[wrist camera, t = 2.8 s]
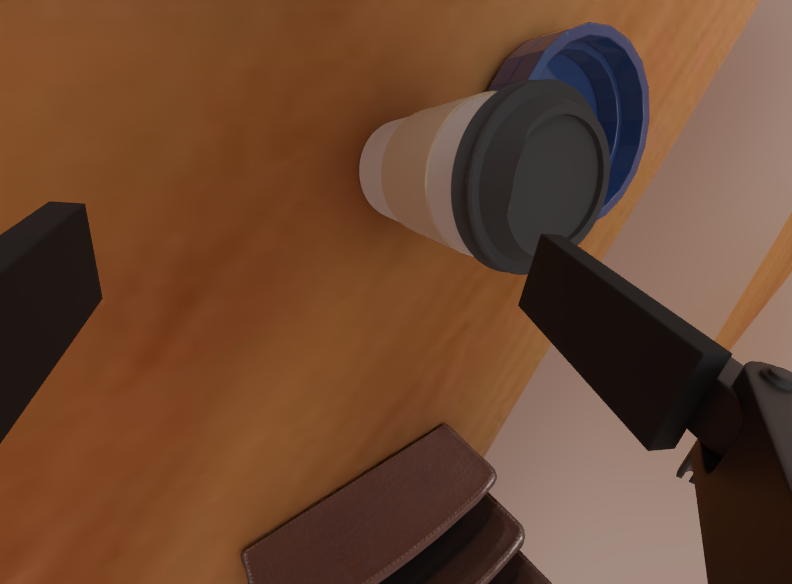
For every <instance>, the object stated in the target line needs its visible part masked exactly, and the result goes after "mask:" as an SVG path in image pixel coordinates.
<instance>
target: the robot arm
mask: <svg viewBox="0 0 792 584" xmlns="http://www.w3.org/2000/svg"><path fill="white" fill-rule="evenodd" d="M102 299H103V298H102V293H101V287H100V282H99V277H98V271H97V266H96V261H95V255H94V250H93V245H92V239H91V234H90V228H89V223H88V218H87V212H86V207H85V204H80V203H65V202H48V203H47V204H45V205H44V206H42V207H41V208H39V209H38V210H36V211H35V212H33V213H32V214H31V215H29V216H28V217H26V218H25V219H23V220H22V221H20V222H19V223H17V224H16V225H14V226H13V227H11V228H10V229H9V230H7V231H6V232H4V233H3V234H1V235H0V443H1V442H2V441H3V439H4V438H5V436H6V435H7V433H8V432H9V431H10V429H11V428H12V426H13V425H14V423H15V422H16V421H17V419H18V418H19V416H20V415H21V414H22V412H23V411H24V409H25V408H26V406H27V405H28V404H29V402H30V401H31V399H32V398H33V397H34V395H35V394H36V392H37V391H38V389H39V388H40V387H41V385H42V384H43V382H44V381H45V379H46V378H47V377H48V375H49V374H50V372H51V371H52V370H53V368H54V367H55V365H56V364H57V362H58V361H59V360H60V358H61V357H62V355H63V354H64V352H65V351H66V350H67V348H68V347H69V345H70V344H71V343H72V341H73V340H74V338H75V337H76V335H77V334H78V333H79V331H80V330H81V328H82V327H83V325H84V324H85V323H86V321H87V320H88V318H89V317H90V316H91V314H92V313H93V311H94V310H95V308H96V307H97V306H98V304H99V303H100V301H101V300H102ZM518 306H519V307H520V308H521V309H522V310H523V311H524V312H525V313H526V315H527V316H528V317H529V318H530V319H531V320H532V321H533V322H534V324H535V325H536V326H537V327H538V328H539V329H540V330H541V331H542V333H543V334H544V335H545V336H546V337H547V338H548V339H549V340H550V341H551V343H552V344H553V345H554V346H555V347H556V348H557V349H558V350H559V352H560V353H561V354H562V355H563V356H564V357H565V358H566V359H567V361H568V362H569V363H570V364H571V365H572V366H573V367H574V368H575V369H576V371H577V372H578V373H579V374H580V375H581V376H582V377H583V378H584V380H585V381H586V382H587V383H588V384H589V385H590V386H591V387H592V389H593V390H594V391H595V392H596V393H597V394H598V395H599V396H600V398H601V399H602V400H603V401H604V402H605V403H606V404H607V405H608V407H609V408H610V409H611V410H612V411H613V412H614V413H615V414H616V415H617V417H618V418H619V419H620V420H621V421H622V422H623V423H624V424H625V426H626V427H627V428H628V429H629V430H630V431H631V432H632V433H633V434H634V436H635V437H636V438H637V439H638V440H639V441H640V442H641V443H642V445H643V446H644V447H645V448H646V449H647V450H648V451H652V450H663V449H674V448H675V447H676V445H677V444H678V442H679V440H680V439H681V437H682V436H683V434H684V432H685V430H686V429H688V430H689V431H690V432H691V433H692V434H694V435H695V436H696V437H697V438H698V439H697V441H696V442H695V444H694V445H693V447H692V449H691V450H690V452H689V453H688V455H687V456H686V458H685V460H684V461H683V463H682V464H681V466H680V467H679V469H678V471H677V475H676V476H677V477H679V478H682V476H683V475H684V474H685V472H687V471H693V476H692V477H691V479H690V480H689V482H691V483H693V484H695V489H696V497H697V504H698V512H699V519H700V527H701V534H702V542H703V549H704V557H705V564H706V571H707V579H708V584H792V372H790V371H788V370H786V369H783V368H780V367H776V366H774V365H770V364H767V363H763V362H752V361H751V362H748V363H746V364H745V365H744V366H743V365H742V364H740V363H739V362H737V361H736V360H734V359H733V358H732V357H731V355H732V353H731V352H729V351H728V350H726V349H725V348H723V347H722V346H721V345H719V344H718V343H716V342H715V341H713V340H712V339H710V338H709V337H707V336H706V335H705V334H703V333H702V332H700V331H699V330H697V329H696V328H695V327H693V326H692V325H690V324H689V323H687V322H686V321H685V320H683V319H682V318H680V317H679V316H677V315H676V314H674V313H673V312H672V311H670V310H669V309H667V308H666V307H664V306H663V305H661V304H660V303H659V302H657V301H656V300H654V299H653V298H651V297H650V296H648V295H647V294H646V293H644V292H643V291H641V290H640V289H638V288H637V287H636V286H634V285H633V284H631V283H630V282H628V281H627V280H625V279H624V278H623V277H621V276H620V275H618V274H617V273H615V272H614V271H612V270H611V269H610V268H608V267H607V266H605V265H604V264H602V263H601V262H600V261H598V260H597V259H595V258H594V257H592V256H591V255H589V254H588V253H587V252H585V251H584V250H582V249H581V248H579V247H578V246H577V245H575V244H574V243H572V242H571V241H569V240H568V239H566V238H565V237H564V236H562V235H557V234H541V235H540V238H539V241H538V245H537V248H536V251H535V254H534V257H533V260H532V264H531V267H530V270H529V273H528V276H527V279H526V283H525V286H524V289H523V292H522V295H521V298H520V302H519V305H518Z"/></svg>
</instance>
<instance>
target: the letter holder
mask: <svg viewBox="0 0 792 584" xmlns="http://www.w3.org/2000/svg"><path fill="white" fill-rule="evenodd" d="M496 479H497V475H496V472H495V470H494V468H493V467H492V466H491V465H490V464H489V463H488V462H487V461H486V460H485V459H484V458H482V457H481V456H480V455H479V454H478V453H477V452H476V451H475V450H474V449H473V448H471V447H470V445H468V443H466V442H465V441H464V440H463V438H461V437H460V436H459V435H458V434H457V433H456V432H455V431H454V430H453V429H451V428H450V427H449V426H448V425H447V424H443V425H442V426H441V427H439V428H437V429H436V430H434V431H432V432H431V433H430V434H428V435H426V436H425V437H423V438H422V439H420V440H418V441H417V442H415V443H414V444H412V445H410V446H409V447H407V448H406V449H404V450H402V451H401V452H399V453H397V454H396V455H395V456H393V457H391V458H390V459H388V460H387V461H385V462H383V463H382V464H380V465H378V466H377V467H375V468H374V469H372V470H370V471H369V472H367V473H366V474H364V475H362V476H361V477H359V478H358V479H356V480H355V481H353V482H352V483H350V484H348V485H347V486H345V487H344V488H342V489H340V490H339V491H337V492H335V493H334V494H333V495H331V496H329V497H328V498H326V499H324V500H323V501H322V502H320V503H318V504H317V505H315V506H313V507H312V508H310V509H308V510H307V511H306V512H304V513H303V514H301V515H299V516H298V517H296V518H294V519H293V520H291V521H290V522H288V523H287V524H285V525H284V526H282V527H280V528H279V529H277V530H276V531H274V532H273V533H271V534H269V535H268V536H266V537H265V538H263V539H261V540H260V541H258V542H257V543H255V544H254V545H252V546H251V547H249V548H247V549H246V550H244V551H243V552H242V553H241V559H242V563H243V565H244V567H245V571H246V575H247V579H248V584H552V583H551V582H550V581H549V580H548V579H547V578H546V577H545V576H544V575H543V574H542V573H541V572H540V571H539V570H538V569H537V568H536V567H535V566H534V565H533V564H532V563H531V562H530V561H529V560H528V559H527V557H526V556H525V555H523V553H522V552H521V551H520V550H519V549H520V548H521V547H522V545H523V542H524V539H525V535H524V529H523V526H522V525H521V524H520V523H519V522H518V521H517V520H516V519H515V518H514V517H513V516H512V515H511V514H510V513H509V512H508V511H507V510H506V509H505V508H504V507H503V506H502V505H501V504H500V503H499V502H498V501H497V500H496V499H495V498H494V497H493V496H491V494H490V493H489V492H488V491H489V490H490V488H491V487H492V486H493V485H494V483H495V481H496Z"/></svg>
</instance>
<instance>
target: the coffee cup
mask: <svg viewBox="0 0 792 584" xmlns="http://www.w3.org/2000/svg"><path fill="white" fill-rule="evenodd" d="M609 176H610V154H609V147H608V142H607V138H606V135H605V132H604V130H603V128H602V126H601V124H600V122H599V121H598V119H597V118H596V116H595V114H594V112H593V110H592V108H591V106H590V105H589V103H588V102H587V100H586V99H585V98H584V97H583V96H582V94H581V93H580V92H579V91H577V90H576V89H575V88H574V87H572V86H571V85H569V84H567V83H565V82H562V81H559V80H553V79H543V80H523V81H518V82H515V83H512V84H510V85H508V86H505V87H504V88H502V89H500V90H499V91H488V92H483V93H479V94H476V95H472V96H469V97H466V98H462V99H459V100H455V101H452V102H448V103H445V104H441V105H438V106H434V107H431V108H427V109H424V110H421V111H418V112H416V113H414V114H412V115H411V116H408V117H405V118H401V119H397V120H394V121H390V122H388V123H386V124H384V125H382V126H381V127H379V128H378V129H377V130H376V131H375V132H374V133H373V134H372V135H371V136H370V138H369V139H368V141H367V142H366V144H365V146H364V148H363V151H362V154H361V158H360V164H359V178H360V184H361V187H362V190H363V193H364V195H365V197H366V199H367V201H368V202H369V203H370V205H371V206H372V207H373V208H374V209H375V210H376V211H378V212H379V213H381V214H382V215H384V216H387V217H389V218H391V219H393V220H396V221H398V222H400V223H401V224H402V225H404V226H405V227H407V228H408V229H410V230H413V231H415V232H417V233H419V234H421V235H423V236H426V237H428V238H430V239H432V240H434V241H436V242H439V243H441V244H443V245H445V246H447V247H449V248H451V249H454V250H456V251H458V252H460V253H462V254H465V255H468V256H472V257H475V258H476V259H477V260H478V261H479V262H481V263H482V264H484V265H485V266H487V267H489V268H491V269H494V270H497V271H501V272H509V273H512V274H519V275H525V274H528V273H529V270H530V267H531V264H532V260H533V257H534V254H535V251H536V248H537V245H538V241H539V238H540V235H541V234H557V235H562V236H564V237H565V238H566V239H568V240H569V241H571V242H572V243H574V244H575V245H578V244H579V243H580V242H581V241H582V240H583V239H584V238H585V237H586V235H587V234H588V233H589V231H590V230H591V228H592V227H593V225H594V223H595V222H596V220H597V218H598V216H599V214H600V211H601V209H602V206H603V203H604V200H605V197H606V193H607V189H608V183H609Z"/></svg>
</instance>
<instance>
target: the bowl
mask: <svg viewBox="0 0 792 584" xmlns="http://www.w3.org/2000/svg"><path fill="white" fill-rule="evenodd" d="M543 79H553V80H559V81H562V82H565V83H567V84H569V85H571V86H572V87H574V88H575V89H576V90H577V91H579V92H580V93H581V94H582V96H583V97H584V98H585V99H586V100H587V102H588V103H589V105H590V106H591V108H592V110H593V112H594V114H595V116H596V118H597V119H598V121H599V122H600V124H601V126H602V128H603V130H604V132H605V135H606V138H607V142H608V147H609V154H610V176H609V183H608V189H607V193H606V197H605V200H604V203H603V206H602V209H601V211H600V214H599V216H598V218H597V220H598V219H600V218H602V217H603V216H605V215H606V214H607V213H608V212H609V211H610V210H611V209H612V208H613V207H614V206H615V204H616V203H617V202H618V201H619V200H620V199H621V198H622V197H623V195H624V193H625V191H626V190H627V188H628V186H629V185H630V183H631V181H632V179H633V178H634V176H635V174H636V171H637V169H638V166H639V163H640V160H641V157H642V154H643V151H644V148H645V144H646V137H647V131H648V125H649V89H648V88H649V87H648V83H647V79H646V75H645V71H644V67H643V63H642V61H641V59H640V57H639V55H638V54H637V52H636V50H635V48H634V47H633V45H632V43H631V42H630V40H629V39H628V38H626V37H625V36H624V35H622V34H621V33H620V32H619V31H617V30H616V29H615V28H613V27H612V26H610V25H605V24H598V23H592V22H587V23H584V24H580V25H577V26H573V27H569V28H566V29H562V30H559V31H555V32H551V33H548V34H545V35H542V36H539V37H537V38H534V39H531V40H528V41H526V42H524V43H523V44H522V45H521V46H520V47H519V48H518V49H517V50H516V51H515V52H514V53H512V54H511V55H510V56H509V57H508V58H507V59H506V60H505V61H504V63H503V65H502V67H501V68H500V70H499V72H498V73H497V75H496V77H495V79H494V80H493V82H492V84H491V85H490V87H489V90H488V91H499V90H500V89H502V88H504V87H505V86H508V85H510V84H512V83H515V82H518V81H523V80H543Z"/></svg>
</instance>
